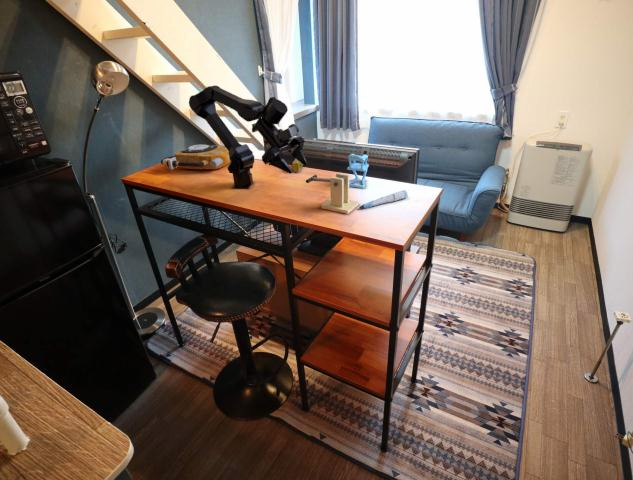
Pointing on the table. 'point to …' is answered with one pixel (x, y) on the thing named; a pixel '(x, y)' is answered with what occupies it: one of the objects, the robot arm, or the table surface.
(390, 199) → the pen
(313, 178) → the lever
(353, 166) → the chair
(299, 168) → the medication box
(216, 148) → the device
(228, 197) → the table surface
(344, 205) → the bracket
